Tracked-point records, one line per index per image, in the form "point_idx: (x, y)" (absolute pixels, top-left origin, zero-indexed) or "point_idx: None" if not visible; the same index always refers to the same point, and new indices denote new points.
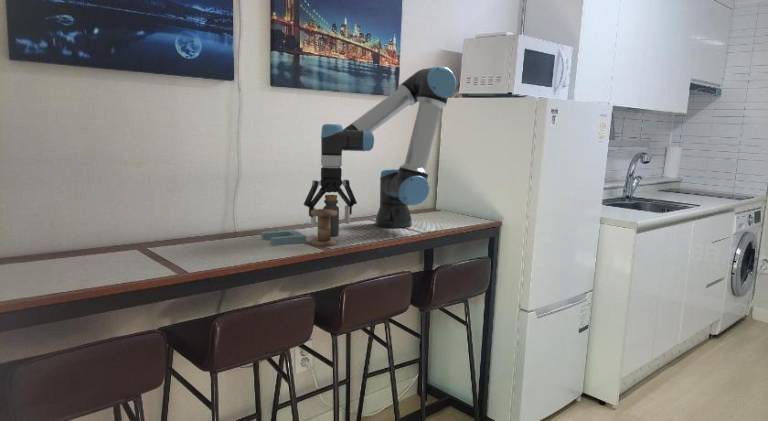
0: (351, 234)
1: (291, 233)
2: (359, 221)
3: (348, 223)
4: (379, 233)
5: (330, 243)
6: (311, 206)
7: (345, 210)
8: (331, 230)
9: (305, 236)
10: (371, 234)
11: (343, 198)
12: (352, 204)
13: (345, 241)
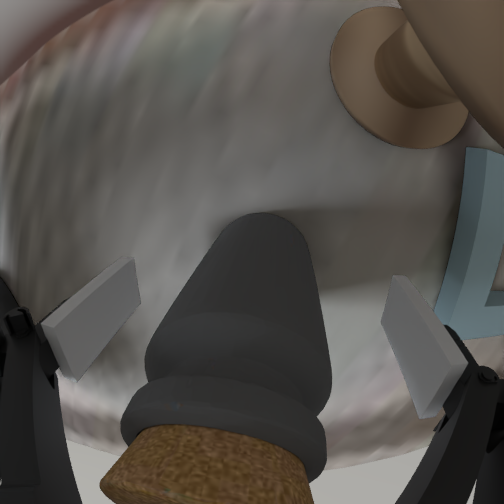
0: (141, 233)
1: (498, 260)
2: (75, 405)
3: (127, 257)
4: (34, 200)
5: (395, 9)
6: (492, 376)
7: (93, 346)
8: (279, 228)
9: (490, 150)
10: (62, 192)
11: (46, 421)
12: (9, 315)
13: (260, 64)
